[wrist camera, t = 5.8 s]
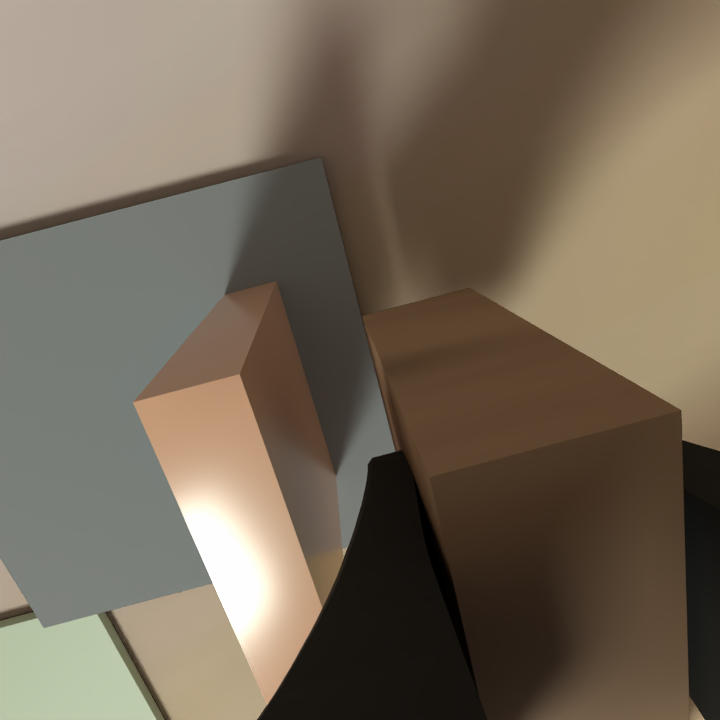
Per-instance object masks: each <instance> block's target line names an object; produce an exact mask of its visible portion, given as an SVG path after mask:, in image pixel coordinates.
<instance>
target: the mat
mask: <svg viewBox="0 0 720 720" xmlns="http://www.w3.org/2000/svg"><path fill="white" fill-rule="evenodd" d="M275 281H277V284H278V288H279V291H280V294H281V297H282V301H283V304H284V307H285V310H286V314H287V317H288V320H289V324H290V327H291V330H292V333H293V337H294V340H295V343H296V347H297V350H298V353H299V356H300V360H301V363H302V366H303V370H304V373H305V376H306V379H307V383H308V386H309V389H310V393H311V396H312V399H313V402H314V406H315V409H316V412H317V415H318V419H319V422H320V425H321V429H322V432H323V435H324V438H325V442H326V445H327V448H328V452H329V455H330V458H331V461H332V465H333V468H334V471H335V475H336V481H337V493H338V505H339V516H340V528H341V539H342V548H346V547H348V546H349V543H350V540H351V538H352V535H353V531H354V528H355V525H356V521H357V518H358V514H359V511H360V507H361V504H362V500H363V495H364V491H365V486H366V480H367V472H368V463H369V462H370V460H371V459H372V458H373V457H377V456H381V455H385V454H389V453H392V452H395V448H394V444H393V440H392V436H391V432H390V428H389V424H388V420H387V416H386V412H385V408H384V404H383V400H382V396H381V393H380V389H379V385H378V381H377V377H376V373H375V369H374V365H373V361H372V357H371V353H370V349H369V345H368V341H367V337H366V333H365V329H364V325H363V321H362V317H361V313H360V309H359V305H358V301H357V297H356V293H355V289H354V285H353V281H352V277H351V273H350V269H349V265H348V261H347V257H346V253H345V249H344V245H343V241H342V237H341V234H340V230H339V226H338V222H337V218H336V214H335V210H334V206H333V202H332V198H331V194H330V190H329V186H328V182H327V178H326V174H325V170H324V166H323V162H322V158H321V157H320V158H316V159H312V160H308V161H304V162H301V163H297V164H293V165H289V166H285V167H281V168H277V169H274V170H270V171H266V172H262V173H258V174H254V175H251V176H247V177H243V178H239V179H235V180H231V181H227V182H224V183H220V184H216V185H212V186H208V187H204V188H201V189H197V190H193V191H189V192H185V193H181V194H177V195H174V196H170V197H166V198H162V199H158V200H154V201H151V202H147V203H143V204H139V205H135V206H131V207H128V208H124V209H120V210H116V211H112V212H108V213H104V214H101V215H97V216H93V217H89V218H85V219H81V220H78V221H74V222H70V223H66V224H62V225H58V226H54V227H51V228H47V229H43V230H39V231H35V232H31V233H28V234H24V235H20V236H16V237H12V238H8V239H5V240H1V241H0V558H1V560H2V562H3V563H4V565H5V566H6V568H7V570H8V571H9V573H10V574H11V576H12V578H13V579H14V581H15V583H16V584H17V586H18V587H19V589H20V591H21V592H22V594H23V595H24V597H25V599H26V600H27V602H28V604H29V605H30V607H31V608H32V610H33V612H34V613H35V615H36V617H37V618H38V620H39V621H40V623H41V625H42V626H43V628H47V627H50V626H54V625H58V624H62V623H65V622H69V621H73V620H77V619H80V618H84V617H88V616H92V615H95V614H99V613H103V612H107V611H110V610H114V609H118V608H121V607H125V606H129V605H133V604H136V603H140V602H144V601H148V600H151V599H155V598H159V597H163V596H166V595H170V594H174V593H178V592H181V591H185V590H189V589H193V588H196V587H200V586H204V585H208V584H211V583H213V582H212V580H211V577H210V575H209V573H208V571H207V568H206V566H205V564H204V562H203V559H202V557H201V555H200V553H199V550H198V548H197V546H196V544H195V541H194V539H193V537H192V535H191V532H190V530H189V528H188V526H187V523H186V521H185V519H184V517H183V514H182V512H181V510H180V507H179V505H178V503H177V501H176V498H175V496H174V494H173V492H172V489H171V487H170V485H169V483H168V480H167V478H166V476H165V474H164V471H163V469H162V467H161V465H160V462H159V460H158V458H157V456H156V453H155V451H154V449H153V447H152V444H151V442H150V440H149V438H148V435H147V433H146V431H145V429H144V426H143V424H142V422H141V419H140V417H139V415H138V413H137V410H136V408H135V406H134V404H133V402H134V400H135V399H136V398H137V397H138V396H139V395H140V393H141V392H142V391H143V390H144V389H145V387H146V386H147V385H148V384H149V383H150V382H151V380H152V379H153V378H154V377H155V376H156V375H157V373H158V372H159V371H160V370H161V369H162V368H163V366H164V365H165V364H166V363H167V362H168V360H169V359H170V358H171V357H172V356H173V355H174V353H175V352H176V351H177V350H178V349H179V348H180V346H181V345H182V344H183V343H184V342H185V341H186V339H187V338H188V337H189V336H190V335H191V334H192V332H193V331H194V330H195V329H196V328H197V326H198V325H199V324H200V323H201V322H202V321H203V319H204V318H205V317H206V316H207V315H208V314H209V312H210V311H211V310H212V309H213V308H214V307H215V305H216V304H217V303H218V302H219V301H220V300H221V298H222V297H223V296H224V295H225V294H229V293H233V292H237V291H241V290H244V289H248V288H252V287H256V286H260V285H263V284H267V283H271V282H275Z"/></svg>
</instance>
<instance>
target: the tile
mask: <svg viewBox="0 0 720 720" xmlns="http://www.w3.org/2000/svg"><path fill="white" fill-rule="evenodd" d="M133 404H134V406H135V408H136V410H137V413H138V415H139V417H140V419H141V422H142V424H143V426H144V429H145V431H146V433H147V435H148V438H149V440H150V442H151V444H152V447H153V449H154V451H155V453H156V456H157V458H158V460H159V462H160V465H161V467H162V469H163V471H164V474H165V476H166V478H167V480H168V483H169V485H170V487H171V489H172V492H173V494H174V496H175V498H176V501H177V503H178V505H179V507H180V510H181V512H182V514H183V517H184V519H185V521H186V523H187V526H188V528H189V530H190V532H191V535H192V537H193V539H194V541H195V544H196V546H197V548H198V550H199V553H200V555H201V557H202V559H203V562H204V564H205V566H206V568H207V571H208V573H209V575H210V577H211V580H212V582H213V584H214V586H215V589H216V591H217V593H218V595H219V598H220V600H221V602H222V605H223V607H224V609H225V611H226V614H227V616H228V618H229V620H230V623H231V625H232V627H233V629H234V632H235V634H236V636H237V638H238V641H239V643H240V645H241V647H242V650H243V652H244V654H245V656H246V659H247V661H248V663H249V665H250V668H251V670H252V672H253V674H254V677H255V679H256V681H257V683H258V686H259V688H260V690H261V692H262V695H263V697H264V699H265V702H266V704H267V705H268V703H269V702H270V700H271V699H272V697H273V695H274V694H275V692H276V691H277V689H278V687H279V686H280V684H281V683H282V681H283V679H284V678H285V676H286V674H287V673H288V671H289V669H290V668H291V666H292V664H293V662H294V660H295V659H296V657H297V655H298V653H299V651H300V650H301V648H302V646H303V644H304V642H305V641H306V639H307V637H308V635H309V633H310V632H311V630H312V628H313V626H314V624H315V622H316V620H317V618H318V616H319V614H320V612H321V610H322V608H323V606H324V604H325V602H326V600H327V597H328V595H329V593H330V591H331V589H332V586H333V584H334V582H335V579H336V577H337V575H338V572H339V570H340V567H341V564H342V562H343V551H342V539H341V528H340V516H339V505H338V493H337V481H336V475H335V471H334V468H333V465H332V461H331V458H330V455H329V452H328V448H327V445H326V442H325V438H324V435H323V432H322V429H321V425H320V422H319V419H318V415H317V412H316V409H315V406H314V402H313V399H312V396H311V393H310V389H309V386H308V383H307V379H306V376H305V373H304V370H303V366H302V363H301V360H300V356H299V353H298V350H297V347H296V343H295V340H294V337H293V333H292V330H291V327H290V324H289V320H288V317H287V314H286V310H285V307H284V304H283V301H282V297H281V294H280V291H279V288H278V284H277V281H275V282H271V283H267V284H263V285H260V286H256V287H252V288H248V289H244V290H241V291H237V292H233V293H229V294H225V295H224V296H223V297H222V298H221V300H220V301H219V302H218V303H217V304H216V305H215V307H214V308H213V309H212V310H211V311H210V312H209V314H208V315H207V316H206V317H205V318H204V319H203V321H202V322H201V323H200V324H199V325H198V326H197V328H196V329H195V330H194V331H193V332H192V334H191V335H190V336H189V337H188V338H187V339H186V341H185V342H184V343H183V344H182V345H181V346H180V348H179V349H178V350H177V351H176V352H175V353H174V355H173V356H172V357H171V358H170V359H169V360H168V362H167V363H166V364H165V365H164V366H163V368H162V369H161V370H160V371H159V372H158V373H157V375H156V376H155V377H154V378H153V379H152V380H151V382H150V383H149V384H148V385H147V386H146V387H145V389H144V390H143V391H142V392H141V393H140V395H139V396H138V397H137V398H136V399H135V400H134V402H133Z"/></svg>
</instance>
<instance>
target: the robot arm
mask: <svg viewBox="0 0 720 720" xmlns="http://www.w3.org/2000/svg"><path fill="white" fill-rule="evenodd" d="M682 455H683V492H684V529H685V566H686V602H687V639H688V676H689V696H690V697H691V699H692V700H693V702H694V703H695V705H696V706H697V708H698V709H699V711H700V712H701V714H702V716H703V717H704V719H705V720H720V451H717V450H713V449H710V448H707V447H703V446H700V445H696V444H693V443H690V442H686V441H683V440H682ZM257 720H487V717H486V715H485V712H484V709H483V706H482V704H481V701H480V698H479V696H478V693H477V690H476V688H475V685H474V682H473V679H472V677H471V674H470V671H469V669H468V666H467V663H466V660H465V658H464V655H463V652H462V650H461V647H460V644H459V641H458V638H457V636H456V633H455V630H454V627H453V624H452V622H451V619H450V616H449V613H448V610H447V608H446V605H445V602H444V599H443V596H442V594H441V591H440V587H439V582H438V578H437V574H436V570H435V566H434V562H433V557H432V553H431V549H430V545H429V541H428V536H427V532H426V528H425V524H424V520H423V515H422V511H421V507H420V503H419V499H418V494H417V490H416V486H415V482H414V478H413V473H412V470H411V468H410V466H409V463H408V461H407V459H406V456H405V454H404V452H403V450H400V451H396V452H392V453H389V454H385V455H381V456H377V457H373V458H372V459H371V460H370V462H369V463H368V472H367V480H366V486H365V491H364V495H363V500H362V504H361V507H360V511H359V514H358V518H357V521H356V525H355V528H354V531H353V535H352V538H351V540H350V543H349V546H348V548H347V551H346V554H345V556H344V559H343V562H342V564H341V567H340V570H339V572H338V575H337V577H336V579H335V582H334V584H333V586H332V589H331V591H330V593H329V595H328V597H327V600H326V602H325V604H324V606H323V608H322V610H321V612H320V614H319V616H318V618H317V620H316V622H315V624H314V626H313V628H312V630H311V632H310V633H309V635H308V637H307V639H306V641H305V642H304V644H303V646H302V648H301V650H300V651H299V653H298V655H297V657H296V659H295V660H294V662H293V664H292V666H291V668H290V669H289V671H288V673H287V674H286V676H285V678H284V679H283V681H282V683H281V684H280V686H279V687H278V689H277V691H276V692H275V694H274V695H273V697H272V699H271V700H270V702H269V703H268V705H267V706H266V707H265V709H264V710H263V712H262V713H261V715H260V716H259V718H258V719H257Z"/></svg>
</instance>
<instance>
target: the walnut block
mask: <svg viewBox="0 0 720 720" xmlns="http://www.w3.org/2000/svg"><path fill="white" fill-rule="evenodd" d="M362 318H363V322H364V326H365V330H366V334H367V338H368V342H369V346H370V350H371V354H372V358H373V362H374V366H375V370H376V374H377V378H378V382H379V386H380V390H381V394H382V398H383V402H384V406H385V410H386V414H387V418H388V422H389V426H390V430H391V435H392V439H393V443H394V447H395V451H400V450H403V452H404V454H405V456H406V459H407V461H408V463H409V466H410V468H411V470H412V473H413V478H414V482H415V486H416V490H417V494H418V499H419V503H420V507H421V511H422V515H423V520H424V524H425V528H426V532H427V536H428V541H429V545H430V549H431V553H432V557H433V562H434V566H435V570H436V574H437V578H438V582H439V587H440V591H441V594H442V596H443V599H444V602H445V605H446V608H447V610H448V613H449V616H450V619H451V622H452V624H453V627H454V630H455V633H456V636H457V638H458V641H459V644H460V647H461V650H462V652H463V655H464V658H465V660H466V663H467V666H468V669H469V671H470V674H471V677H472V679H473V682H474V685H475V688H476V690H477V693H478V696H479V698H480V701H481V704H482V706H483V709H484V712H485V715H486V717H487V720H690V713H689V676H688V639H687V602H686V566H685V529H684V492H683V455H682V418H681V410H680V409H678V408H677V407H675V406H673V405H671V404H670V403H668V402H666V401H664V400H663V399H661V398H659V397H657V396H656V395H654V394H652V393H651V392H649V391H647V390H645V389H644V388H642V387H640V386H638V385H637V384H635V383H633V382H632V381H630V380H628V379H626V378H625V377H623V376H621V375H619V374H618V373H616V372H614V371H613V370H611V369H609V368H607V367H606V366H604V365H602V364H600V363H599V362H597V361H595V360H593V359H592V358H590V357H588V356H587V355H585V354H583V353H581V352H580V351H578V350H576V349H574V348H573V347H571V346H569V345H568V344H566V343H564V342H562V341H561V340H559V339H557V338H555V337H554V336H552V335H550V334H548V333H547V332H545V331H543V330H542V329H540V328H538V327H536V326H535V325H533V324H531V323H529V322H528V321H526V320H524V319H523V318H521V317H519V316H517V315H516V314H514V313H512V312H510V311H509V310H507V309H505V308H503V307H502V306H500V305H498V304H497V303H495V302H493V301H491V300H490V299H488V298H486V297H484V296H483V295H481V294H479V293H478V292H476V291H474V290H472V289H471V288H467V289H463V290H459V291H455V292H451V293H448V294H444V295H440V296H436V297H432V298H428V299H425V300H421V301H417V302H413V303H409V304H405V305H402V306H398V307H394V308H390V309H386V310H383V311H379V312H375V313H371V314H367V315H363V316H362Z"/></svg>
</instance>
